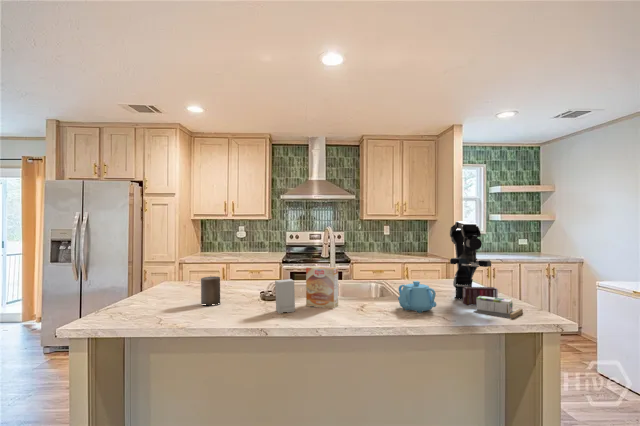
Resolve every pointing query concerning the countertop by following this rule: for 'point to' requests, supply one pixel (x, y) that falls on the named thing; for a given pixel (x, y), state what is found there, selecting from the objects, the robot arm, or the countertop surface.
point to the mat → (511, 315)
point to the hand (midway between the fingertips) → (470, 279)
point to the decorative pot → (416, 297)
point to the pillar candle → (210, 290)
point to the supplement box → (477, 294)
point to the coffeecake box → (322, 286)
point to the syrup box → (494, 304)
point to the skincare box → (285, 295)
